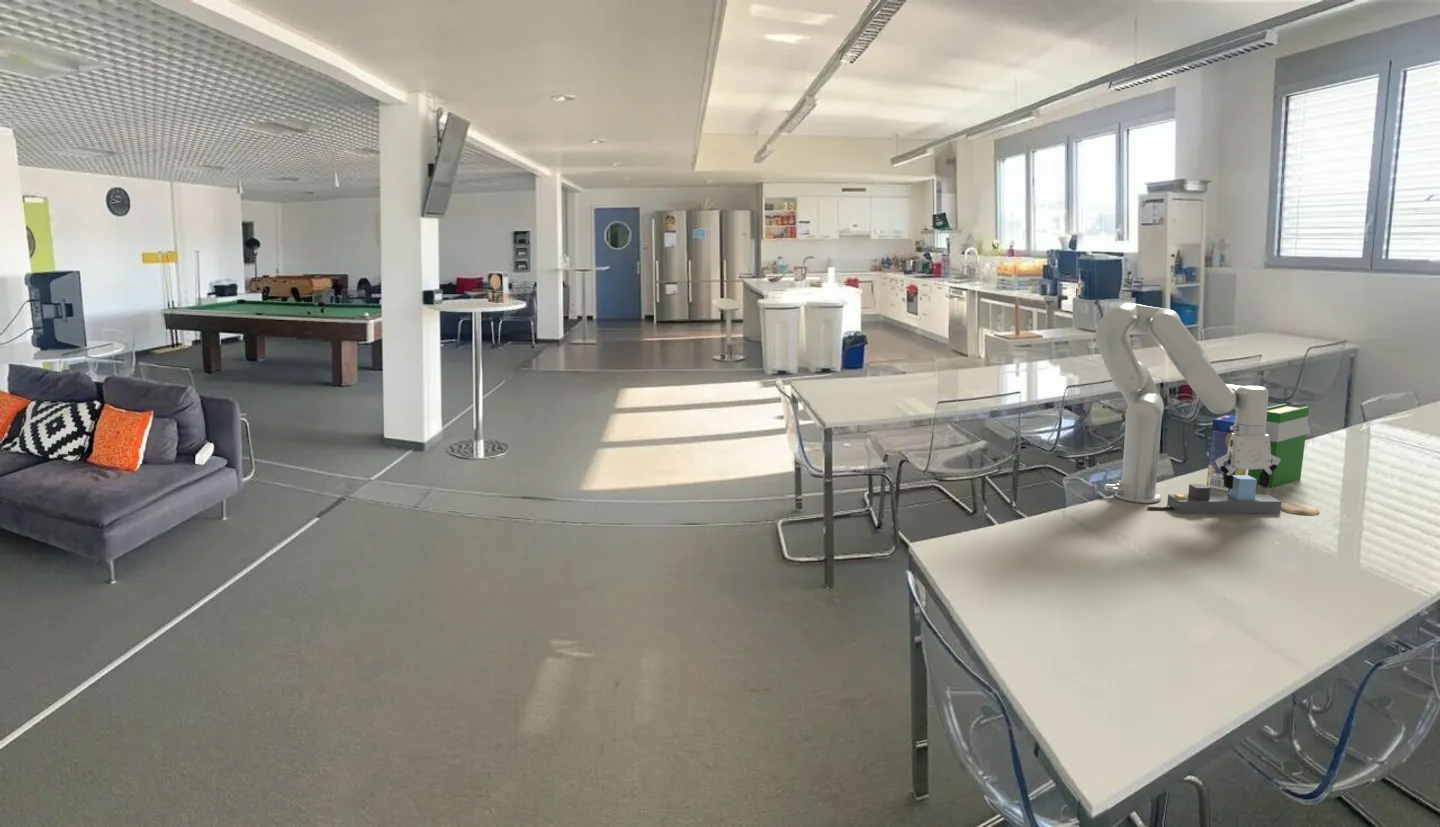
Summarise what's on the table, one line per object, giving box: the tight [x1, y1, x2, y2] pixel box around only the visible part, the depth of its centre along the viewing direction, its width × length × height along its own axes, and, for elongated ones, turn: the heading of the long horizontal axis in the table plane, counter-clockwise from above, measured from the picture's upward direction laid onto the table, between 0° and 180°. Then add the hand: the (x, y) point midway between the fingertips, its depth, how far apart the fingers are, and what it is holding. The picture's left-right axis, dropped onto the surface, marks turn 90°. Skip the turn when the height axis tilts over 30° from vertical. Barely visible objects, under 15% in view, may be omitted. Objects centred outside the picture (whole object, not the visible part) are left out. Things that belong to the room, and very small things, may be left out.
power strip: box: [1146, 483, 1282, 515], centre depth 238 cm, size 35×7×7 cm, turn 86°
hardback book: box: [1247, 403, 1310, 489], centre depth 263 cm, size 18×7×24 cm, turn 120°
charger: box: [1228, 474, 1257, 501], centre depth 237 cm, size 5×5×8 cm
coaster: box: [1280, 502, 1321, 516], centre depth 237 cm, size 10×10×1 cm
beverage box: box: [1206, 414, 1247, 492], centre depth 259 cm, size 7×11×22 cm, turn 128°
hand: (1245, 487), depth 236 cm, fingers open, 9 cm apart
